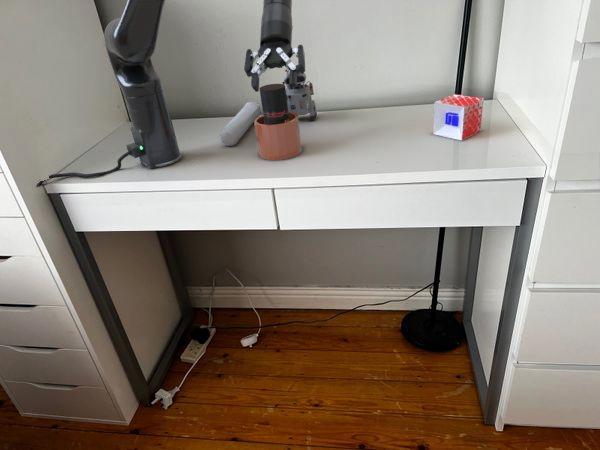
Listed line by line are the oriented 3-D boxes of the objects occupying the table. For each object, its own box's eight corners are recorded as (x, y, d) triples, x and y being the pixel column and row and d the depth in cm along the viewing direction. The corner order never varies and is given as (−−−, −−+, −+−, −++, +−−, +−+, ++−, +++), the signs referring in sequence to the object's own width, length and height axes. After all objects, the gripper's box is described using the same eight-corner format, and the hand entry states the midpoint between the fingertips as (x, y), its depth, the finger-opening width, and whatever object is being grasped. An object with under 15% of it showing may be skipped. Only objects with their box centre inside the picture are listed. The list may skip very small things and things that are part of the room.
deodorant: (289, 152, 107) (281, 89, 99) (265, 153, 108) (256, 90, 101) (294, 144, 112) (287, 83, 104) (272, 144, 113) (263, 84, 106)
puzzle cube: (480, 130, 108) (483, 98, 104) (461, 140, 104) (464, 106, 100) (451, 125, 114) (453, 94, 110) (432, 134, 110) (434, 102, 106)
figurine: (279, 128, 126) (272, 74, 119) (289, 116, 136) (283, 64, 128) (311, 127, 124) (305, 72, 116) (318, 115, 134) (314, 62, 126)
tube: (237, 133, 114) (262, 104, 135) (218, 127, 114) (245, 99, 135) (235, 151, 117) (259, 120, 138) (215, 146, 117) (242, 116, 138)
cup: (277, 163, 104) (273, 128, 100) (251, 154, 111) (245, 121, 107) (310, 149, 109) (307, 115, 105) (282, 141, 117) (278, 109, 112)
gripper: (243, 21, 106) (239, 82, 102) (302, 15, 103) (301, 77, 99) (252, 41, 113) (248, 99, 109) (307, 36, 111) (306, 95, 107)
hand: (273, 88), depth 104 cm, fingers open, 8 cm apart
